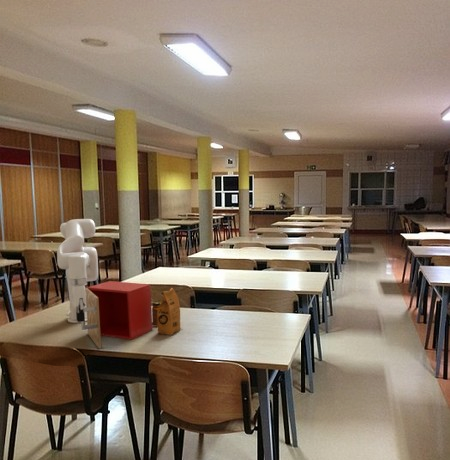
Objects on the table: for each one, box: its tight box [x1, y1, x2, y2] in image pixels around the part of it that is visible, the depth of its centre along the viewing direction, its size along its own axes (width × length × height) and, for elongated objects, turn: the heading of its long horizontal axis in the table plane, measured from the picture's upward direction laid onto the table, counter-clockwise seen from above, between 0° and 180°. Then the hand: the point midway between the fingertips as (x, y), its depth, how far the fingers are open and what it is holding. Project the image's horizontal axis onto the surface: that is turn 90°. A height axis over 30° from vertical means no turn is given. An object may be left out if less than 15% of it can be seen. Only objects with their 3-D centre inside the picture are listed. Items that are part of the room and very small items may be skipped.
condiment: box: [151, 301, 162, 328], centre depth 266 cm, size 7×8×12 cm
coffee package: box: [157, 287, 182, 336], centre depth 251 cm, size 10×12×22 cm
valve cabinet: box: [86, 280, 153, 341], centre depth 252 cm, size 18×26×24 cm
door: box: [80, 287, 102, 350], centre depth 236 cm, size 8×26×24 cm, turn 27°
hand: (80, 320), depth 225 cm, fingers closed on door
